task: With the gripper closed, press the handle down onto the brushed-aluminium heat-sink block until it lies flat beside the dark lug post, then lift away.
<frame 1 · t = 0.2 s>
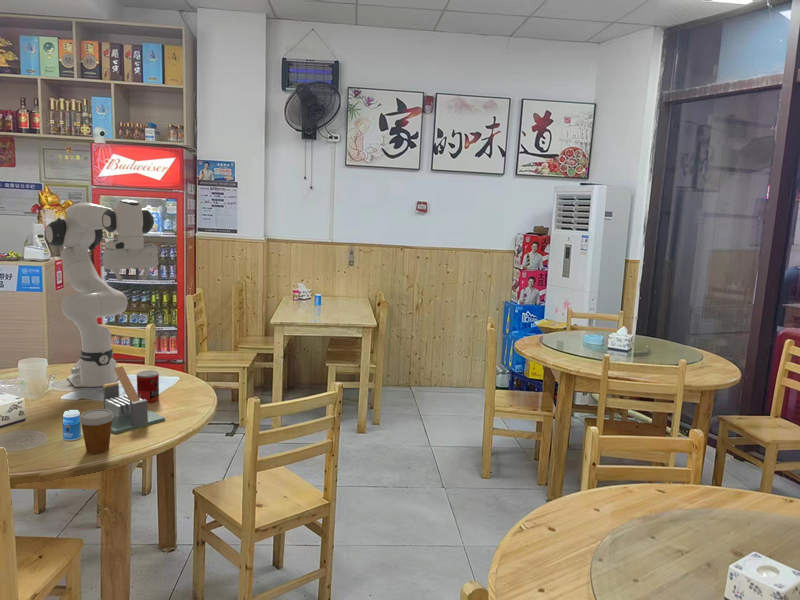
hand: (131, 280, 224), 47 cm above the table, fingers open, 8 cm apart
canned food: (148, 400, 232), on the table
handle: (127, 386, 208), point 12 cm above the table, hinge at 40.0°
heatsink: (125, 418, 212), resting on board
board: (123, 418, 212), on the table
disposable coffee cup: (97, 450, 185), on the table
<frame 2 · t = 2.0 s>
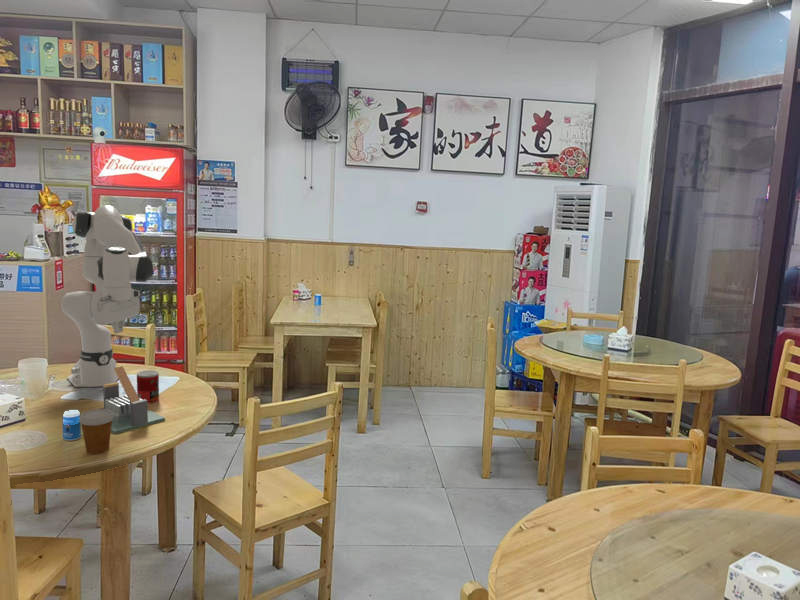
hand: (118, 332, 209), 31 cm above the table, fingers closed
nothing on the table moved.
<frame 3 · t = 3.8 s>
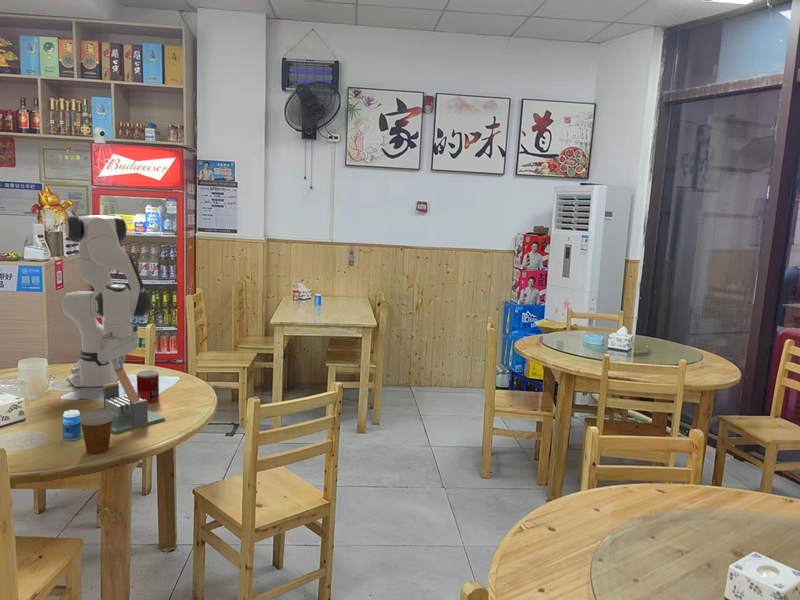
hand: (118, 368, 210), 18 cm above the table, fingers closed
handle: (127, 387, 208), point 12 cm above the table, hinge at 38.9°, touching gripper
everything else where it was.
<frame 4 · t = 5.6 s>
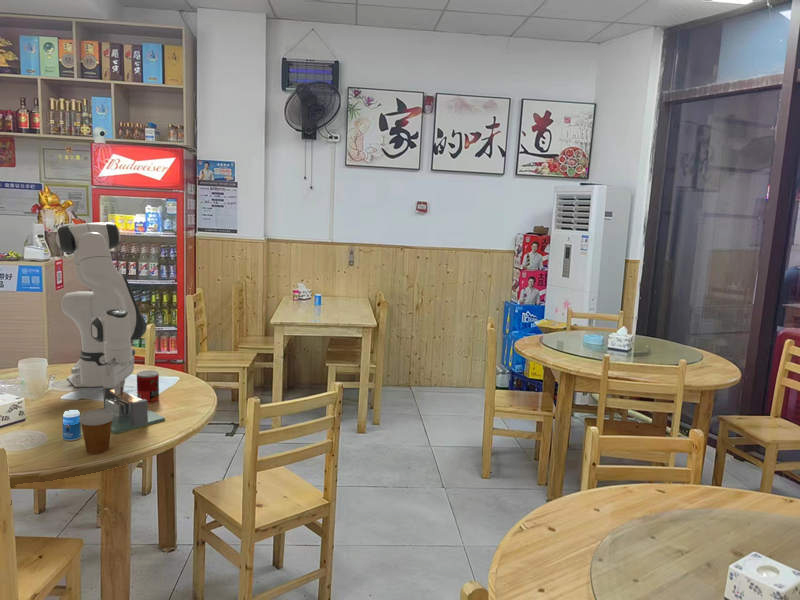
hand: (119, 392, 212), 9 cm above the table, fingers closed on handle
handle: (125, 397, 210), point 8 cm above the table, hinge at 3.4°, touching gripper
everything else where it was.
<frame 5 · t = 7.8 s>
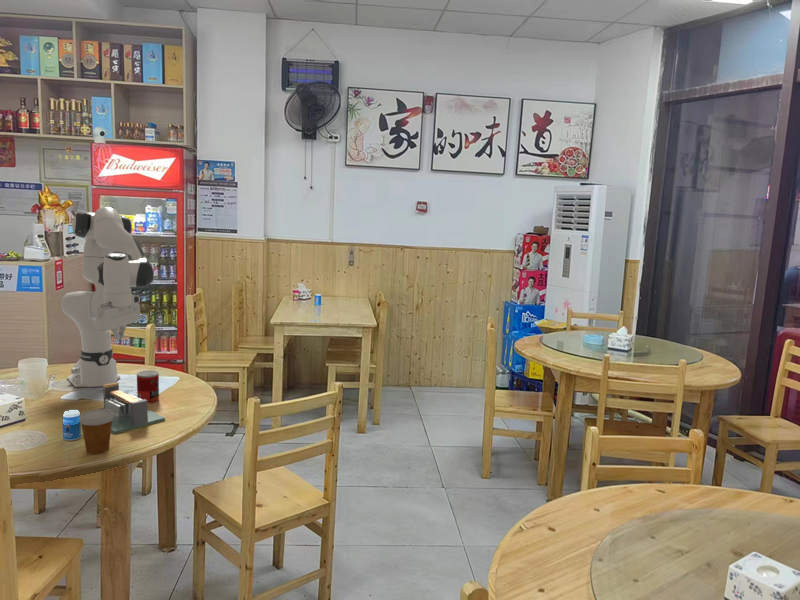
hand: (119, 338, 209), 29 cm above the table, fingers closed
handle: (125, 398, 210), point 8 cm above the table, hinge at 1.5°
everything else where it was.
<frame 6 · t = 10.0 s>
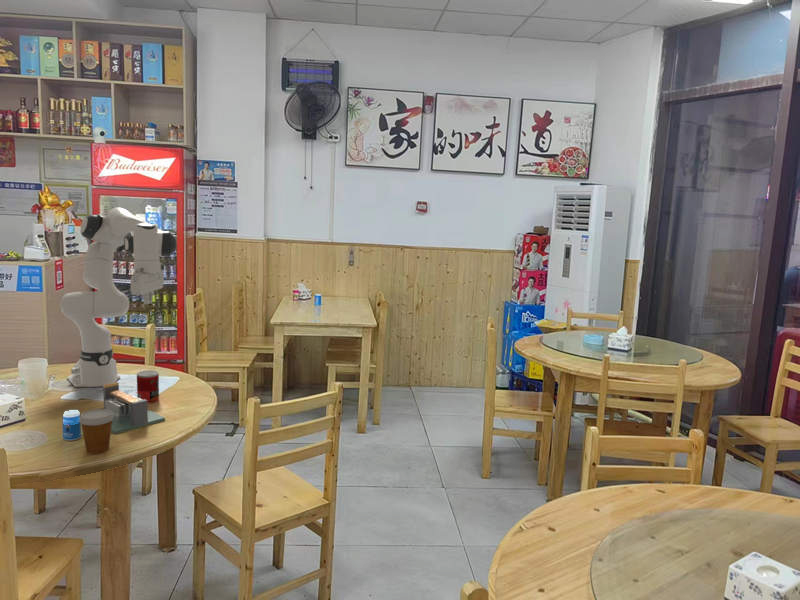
hand: (147, 303, 223), 39 cm above the table, fingers closed
nothing on the table moved.
at the end: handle at +2° (first picture: +40°); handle touching nothing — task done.
